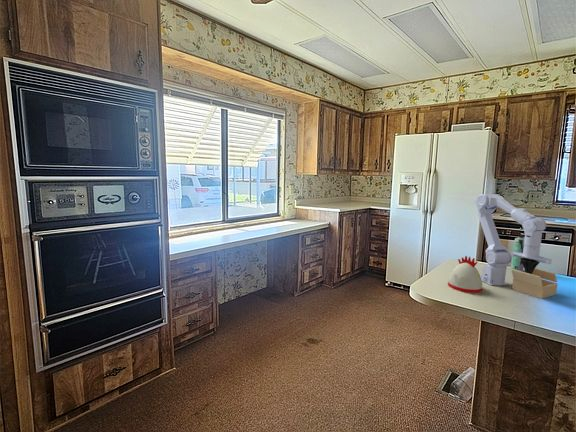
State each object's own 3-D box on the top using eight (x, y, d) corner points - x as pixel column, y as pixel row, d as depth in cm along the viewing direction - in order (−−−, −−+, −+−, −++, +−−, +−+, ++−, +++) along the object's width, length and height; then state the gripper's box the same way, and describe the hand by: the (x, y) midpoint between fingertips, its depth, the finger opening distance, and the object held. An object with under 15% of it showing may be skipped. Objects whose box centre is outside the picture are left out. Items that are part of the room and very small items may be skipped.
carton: (541, 298, 136) (543, 287, 135) (511, 288, 146) (513, 278, 146) (556, 294, 141) (557, 283, 141) (526, 285, 152) (527, 275, 151)
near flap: (542, 286, 135) (541, 286, 135) (514, 278, 145) (513, 278, 145) (540, 276, 133) (539, 277, 133) (511, 269, 143) (511, 269, 143)
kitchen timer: (473, 295, 138) (476, 262, 136) (442, 285, 149) (445, 254, 147) (487, 289, 146) (490, 257, 144) (456, 280, 157) (459, 250, 155)
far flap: (528, 274, 151) (529, 274, 151) (556, 282, 141) (557, 281, 141) (526, 266, 149) (526, 265, 149) (554, 273, 139) (555, 273, 139)
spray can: (524, 272, 172) (529, 236, 169) (513, 271, 173) (518, 235, 171) (519, 269, 178) (524, 234, 175) (509, 268, 179) (513, 233, 176)
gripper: (556, 248, 133) (552, 279, 134) (518, 241, 145) (515, 270, 147) (548, 250, 129) (544, 281, 131) (510, 242, 142) (506, 272, 144)
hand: (528, 275), depth 139 cm, fingers closed, pressing on near flap
